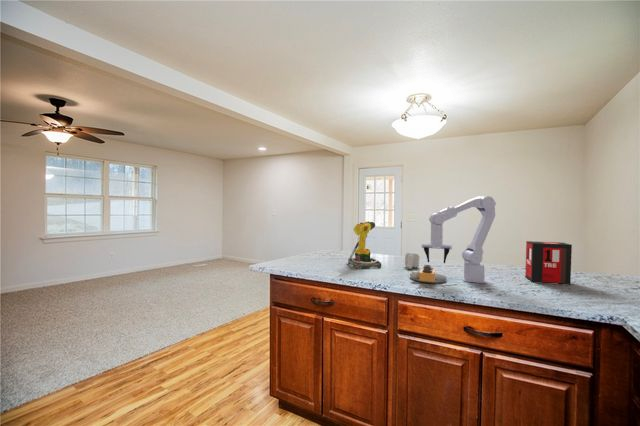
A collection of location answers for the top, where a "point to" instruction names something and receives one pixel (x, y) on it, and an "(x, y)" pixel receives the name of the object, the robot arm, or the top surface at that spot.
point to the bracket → (424, 275)
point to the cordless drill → (363, 248)
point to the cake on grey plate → (438, 279)
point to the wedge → (427, 268)
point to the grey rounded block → (411, 260)
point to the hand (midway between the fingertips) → (436, 262)
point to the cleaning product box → (548, 262)
